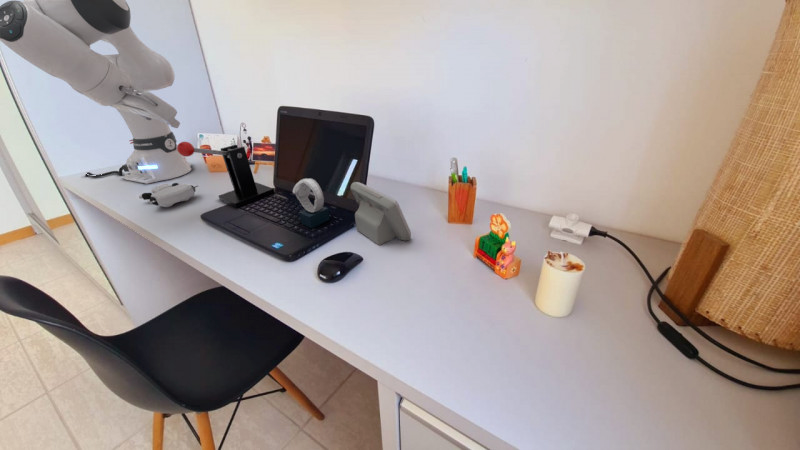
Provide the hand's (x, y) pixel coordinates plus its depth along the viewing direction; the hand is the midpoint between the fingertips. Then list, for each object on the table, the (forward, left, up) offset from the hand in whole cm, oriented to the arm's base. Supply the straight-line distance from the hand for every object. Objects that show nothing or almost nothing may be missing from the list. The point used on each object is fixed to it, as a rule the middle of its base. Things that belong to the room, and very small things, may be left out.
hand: (163, 121), depth 82 cm
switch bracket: (+11, +7, -24) cm, 27 cm away
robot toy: (-11, +1, -24) cm, 26 cm away
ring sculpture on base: (+39, -4, -24) cm, 46 cm away
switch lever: (+9, +2, -10) cm, 13 cm away
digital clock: (+57, -6, -24) cm, 62 cm away
